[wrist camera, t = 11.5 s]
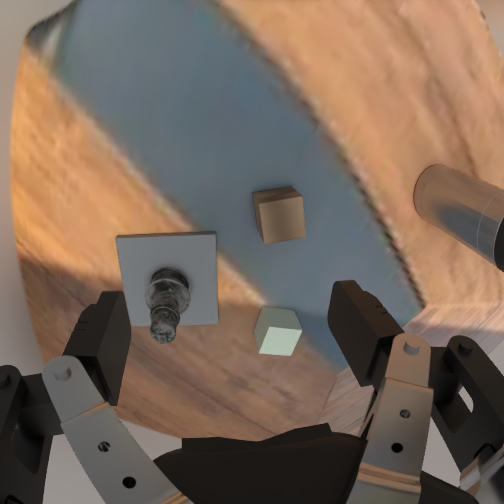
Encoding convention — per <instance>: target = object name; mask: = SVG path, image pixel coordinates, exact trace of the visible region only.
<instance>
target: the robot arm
mask: <svg viewBox="0 0 504 504" xmlns="http://www.w3.org/2000/svg"><path fill="white" fill-rule="evenodd" d="M414 204H415V208H416V210H417V212H418V214H419V215H420V216H421V217H422V218H423V219H425V220H427V221H428V222H430V223H431V224H433V225H435V226H436V227H438V228H439V229H441V230H442V231H444V232H446V233H447V234H449V235H450V236H452V237H453V238H455V239H456V240H458V241H459V242H461V243H462V244H464V245H465V246H467V247H468V248H470V249H471V250H473V251H474V252H476V253H477V254H479V255H480V256H481V257H483V258H484V259H486V260H487V261H489V262H490V263H492V264H493V265H494V266H496V267H497V268H499V269H500V270H501V271H502V272H504V189H501V188H499V187H497V186H494V185H492V184H490V183H487V182H485V181H482V180H480V179H477V178H475V177H472V176H470V175H467V174H464V173H462V172H459V171H457V170H454V169H451V168H448V167H446V166H443V165H433V166H431V167H429V168H427V169H426V170H425V171H424V172H423V173H422V174H421V176H420V177H419V179H418V181H417V184H416V187H415V191H414ZM328 325H329V328H330V330H331V332H332V334H333V336H334V338H335V340H336V341H337V343H338V345H339V347H340V349H341V351H342V353H343V354H344V356H345V358H346V360H347V362H348V364H349V366H350V368H351V369H352V371H353V373H354V375H355V377H356V379H357V381H358V383H359V385H360V386H361V387H364V386H369V385H373V387H374V390H373V393H372V395H371V398H370V401H369V404H368V407H367V410H366V413H365V416H364V419H363V422H362V425H361V428H360V430H359V433H358V435H357V436H354V435H351V434H346V433H339V432H332V431H331V429H330V426H329V424H328V423H324V424H319V425H314V426H308V427H302V428H296V429H293V430H290V431H287V432H285V433H282V434H279V435H277V436H274V437H271V438H268V439H266V440H263V441H246V440H237V439H230V438H222V437H209V438H182V448H181V449H176V450H173V451H171V452H168V453H165V454H163V455H161V456H159V457H158V458H156V459H154V460H153V461H152V460H151V459H150V458H149V456H148V455H147V454H146V453H145V452H144V450H143V449H142V448H141V447H140V445H139V444H138V443H137V442H136V440H135V439H134V438H133V436H132V435H131V434H130V432H129V431H128V430H127V428H126V427H125V426H124V424H123V423H122V421H121V420H120V419H119V417H118V416H117V415H116V413H115V412H114V410H113V409H112V407H111V406H117V403H118V398H119V393H120V387H121V382H122V378H123V373H124V368H125V363H126V359H127V354H128V350H129V346H130V341H131V325H130V320H129V316H128V311H127V307H126V302H125V297H124V294H123V292H122V291H103V292H102V293H101V295H100V297H99V300H98V302H97V304H90V305H89V306H88V307H87V308H86V309H85V310H84V311H83V312H82V313H81V315H80V317H79V319H78V323H76V326H75V328H74V331H73V332H72V334H71V336H70V339H69V341H68V343H67V345H66V348H65V350H64V352H63V355H62V356H59V357H56V358H54V359H52V360H51V361H49V362H48V363H47V364H46V365H45V367H44V368H43V371H42V373H40V374H34V375H28V376H22V375H21V373H20V372H19V370H18V369H17V368H16V367H14V366H12V365H3V366H0V504H42V502H43V494H44V486H45V479H46V473H47V466H48V461H49V455H50V450H51V444H52V439H53V435H60V434H65V436H66V438H67V440H68V442H69V443H70V445H71V447H72V449H73V451H74V453H75V455H76V456H77V458H78V460H79V462H80V464H81V465H82V467H83V469H84V470H85V472H86V474H87V475H88V477H89V479H90V480H91V482H92V483H93V485H94V486H95V488H96V490H97V491H98V493H99V494H100V496H101V497H102V499H103V500H104V502H105V503H106V504H504V376H503V375H502V374H501V372H500V371H499V370H498V368H497V367H496V366H495V365H494V364H493V362H492V361H491V360H490V359H489V357H488V356H487V355H486V354H485V352H484V351H483V350H482V349H481V348H480V346H479V345H478V344H477V343H476V342H475V341H474V340H472V339H470V338H468V337H466V336H461V335H458V336H453V337H452V338H451V339H450V340H449V342H448V345H447V347H430V345H429V343H428V342H427V341H426V340H425V339H424V338H422V337H420V336H418V335H416V334H412V333H405V332H404V331H403V330H402V328H401V327H400V326H399V325H398V323H397V322H396V321H395V320H394V318H393V317H392V316H391V315H390V313H388V311H387V310H386V308H385V307H383V305H382V304H381V302H380V301H379V300H378V299H377V298H376V297H375V296H373V295H372V294H370V293H369V292H367V291H363V290H362V289H361V287H360V286H359V285H358V284H357V283H356V281H355V280H345V281H336V282H335V283H334V285H333V289H332V294H331V300H330V305H329V310H328ZM463 386H464V388H465V389H466V391H467V392H468V394H469V395H470V397H471V398H472V400H473V411H472V413H471V412H470V410H469V409H468V407H467V406H466V404H465V402H464V401H463V399H462V398H461V396H460V395H459V391H460V390H461V388H462V387H463ZM431 417H432V419H433V421H434V423H435V424H436V426H437V428H438V430H439V432H440V434H441V436H442V437H443V439H444V441H445V443H446V445H447V447H448V449H449V451H450V453H451V454H452V457H453V459H454V460H455V463H456V465H457V467H458V469H459V471H460V473H461V476H460V486H459V487H458V488H457V487H455V486H453V485H451V484H449V483H447V482H444V481H442V480H440V479H438V478H436V477H434V476H432V475H430V474H428V473H426V472H424V471H422V470H421V469H422V465H423V460H424V455H425V449H426V444H427V438H428V431H429V425H430V418H431ZM13 433H14V434H13ZM12 437H13V438H12Z"/></svg>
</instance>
